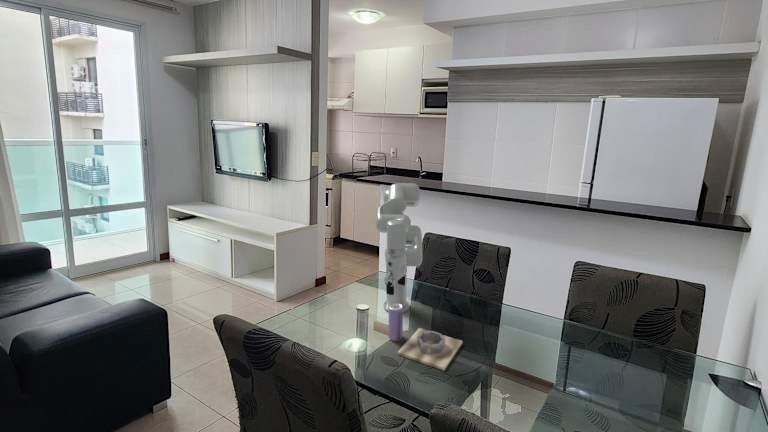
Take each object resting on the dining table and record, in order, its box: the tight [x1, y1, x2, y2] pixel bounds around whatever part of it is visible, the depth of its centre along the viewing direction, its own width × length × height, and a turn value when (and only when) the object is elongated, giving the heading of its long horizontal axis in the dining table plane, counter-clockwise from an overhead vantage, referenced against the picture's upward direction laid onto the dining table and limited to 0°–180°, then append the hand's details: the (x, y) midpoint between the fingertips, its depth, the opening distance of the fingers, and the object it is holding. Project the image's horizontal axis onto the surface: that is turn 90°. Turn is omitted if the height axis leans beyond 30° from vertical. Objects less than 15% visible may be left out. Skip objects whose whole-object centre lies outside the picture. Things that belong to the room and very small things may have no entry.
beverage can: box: [388, 303, 404, 342], centre depth 175 cm, size 6×6×15 cm
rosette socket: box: [397, 327, 464, 371], centre depth 169 cm, size 20×20×5 cm
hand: (395, 289), depth 170 cm, fingers open, 9 cm apart
